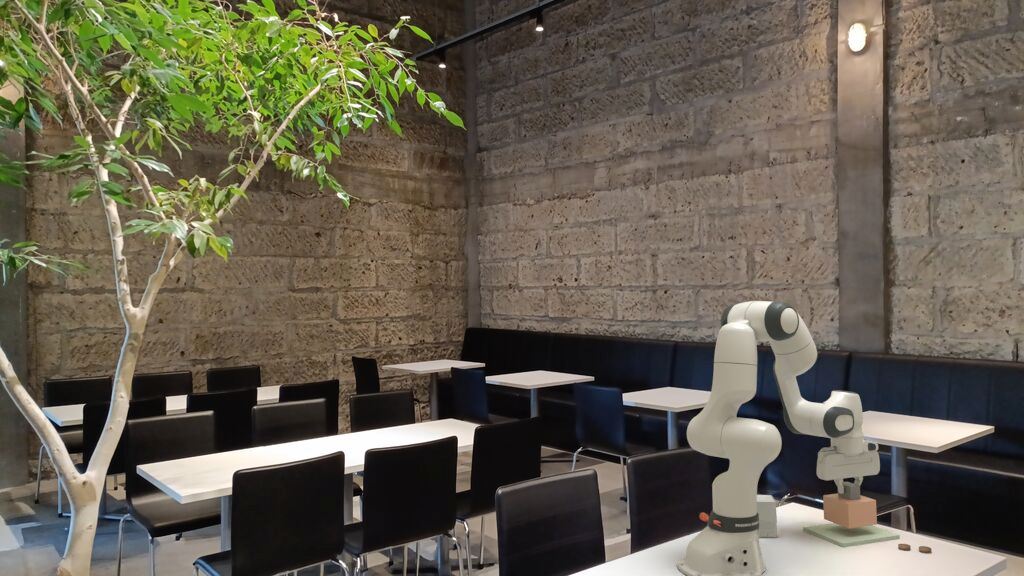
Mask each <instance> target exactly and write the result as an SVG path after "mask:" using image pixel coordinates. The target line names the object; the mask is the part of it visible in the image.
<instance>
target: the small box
mask: <svg viewBox="0 0 1024 576" xmlns="http://www.w3.org/2000/svg"><path fill="white" fill-rule="evenodd" d="M757 512H758V514H759V531H758V536H759V538H778V521H777V519H778V517H777V502H776V500H775V498H774V497H773V495H770V494H757Z"/></svg>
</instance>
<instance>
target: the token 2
mask: <svg viewBox="0 0 1024 576" xmlns="http://www.w3.org/2000/svg"><path fill="white" fill-rule="evenodd" d="M918 551H919V552H918V553H921V554H926V555H927V554H928V555H929V554H932V548H931V547H930V546H925V545H920V546H918Z"/></svg>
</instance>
